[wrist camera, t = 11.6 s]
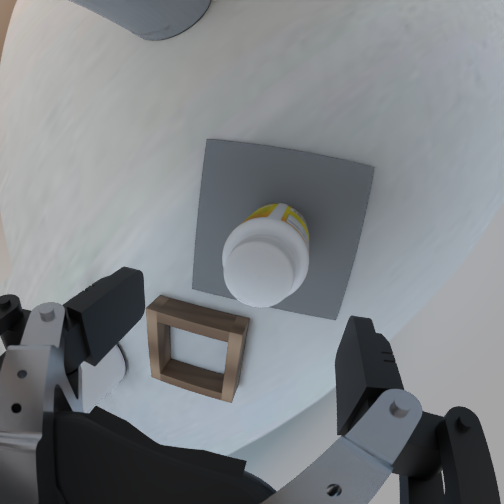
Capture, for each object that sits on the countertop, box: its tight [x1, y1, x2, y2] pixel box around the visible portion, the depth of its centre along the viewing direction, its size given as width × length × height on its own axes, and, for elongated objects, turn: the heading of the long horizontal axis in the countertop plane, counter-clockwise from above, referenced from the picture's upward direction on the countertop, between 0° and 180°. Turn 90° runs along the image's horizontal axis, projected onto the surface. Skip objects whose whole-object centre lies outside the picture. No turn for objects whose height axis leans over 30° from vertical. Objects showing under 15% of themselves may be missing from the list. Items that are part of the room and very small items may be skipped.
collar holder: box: [146, 295, 249, 403], centre depth 28 cm, size 10×10×3 cm
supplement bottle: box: [222, 203, 309, 308], centre depth 19 cm, size 5×5×10 cm
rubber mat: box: [192, 139, 374, 320], centre depth 24 cm, size 14×14×1 cm
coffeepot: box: [80, 344, 125, 413], centre depth 25 cm, size 11×25×19 cm, turn 160°
